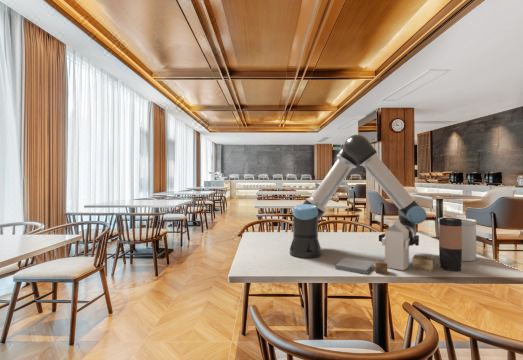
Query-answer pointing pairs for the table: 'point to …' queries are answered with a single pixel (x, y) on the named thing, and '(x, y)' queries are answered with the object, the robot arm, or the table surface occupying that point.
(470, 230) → the utensil holder
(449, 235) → the travel mug
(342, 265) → the slate board
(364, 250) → the table surface
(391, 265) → the milk carton
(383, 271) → the walnut block
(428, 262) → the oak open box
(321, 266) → the table surface
